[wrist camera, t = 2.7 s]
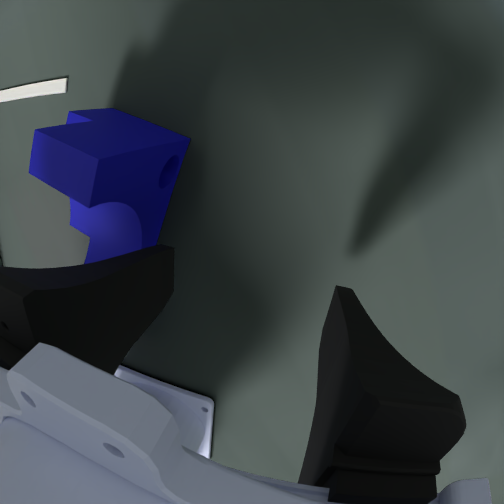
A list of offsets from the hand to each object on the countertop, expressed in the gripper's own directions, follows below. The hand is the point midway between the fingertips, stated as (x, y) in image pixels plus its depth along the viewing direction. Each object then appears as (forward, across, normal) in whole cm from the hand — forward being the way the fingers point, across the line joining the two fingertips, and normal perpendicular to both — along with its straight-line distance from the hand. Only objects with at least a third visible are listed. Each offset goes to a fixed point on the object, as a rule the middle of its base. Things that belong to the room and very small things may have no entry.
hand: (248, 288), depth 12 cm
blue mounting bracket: (+3, +8, 0) cm, 8 cm away
